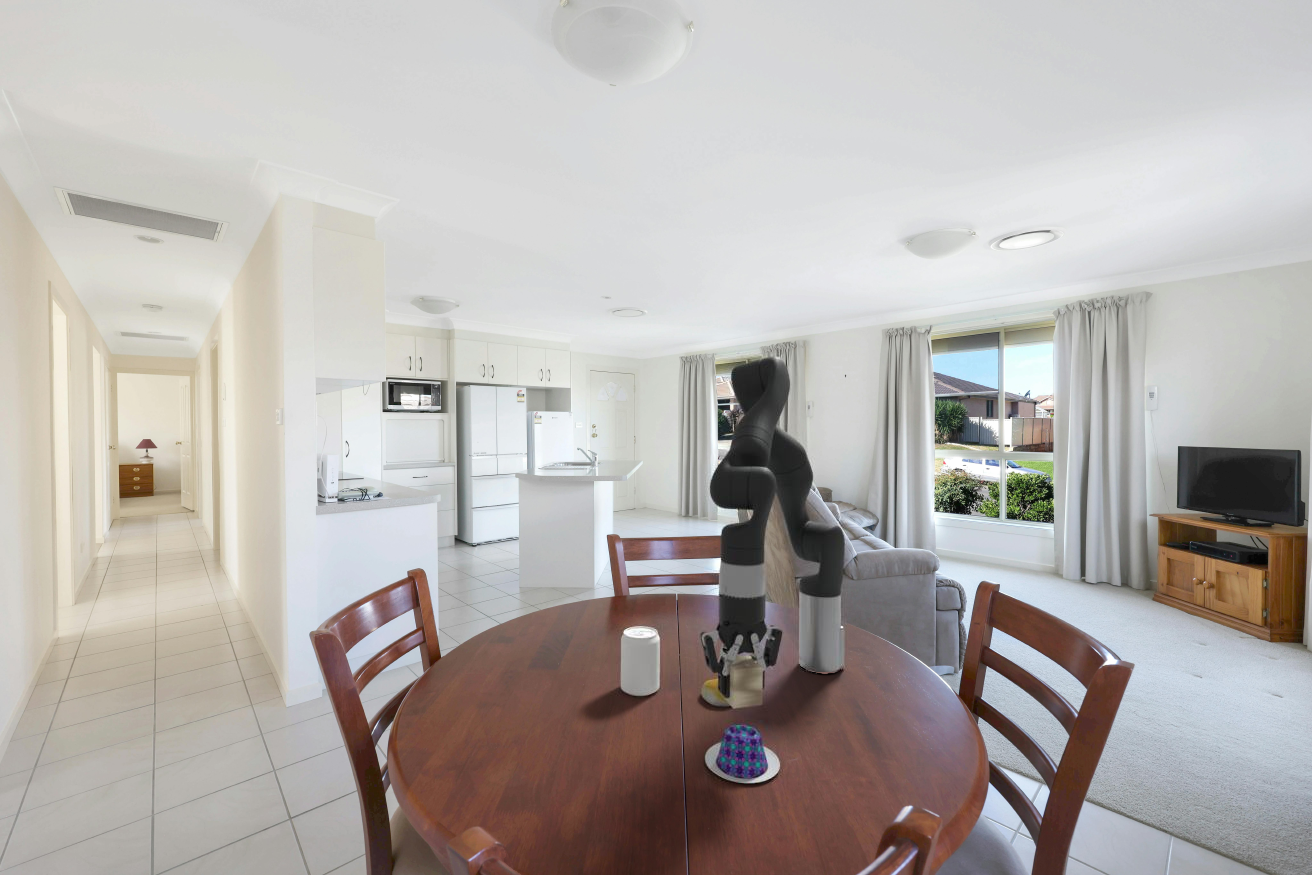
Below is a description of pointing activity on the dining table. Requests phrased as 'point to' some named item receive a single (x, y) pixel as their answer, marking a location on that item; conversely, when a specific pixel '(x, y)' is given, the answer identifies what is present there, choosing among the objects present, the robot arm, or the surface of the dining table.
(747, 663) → the beech block
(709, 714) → the dining table surface
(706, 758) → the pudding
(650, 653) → the beverage can
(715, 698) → the bread roll
